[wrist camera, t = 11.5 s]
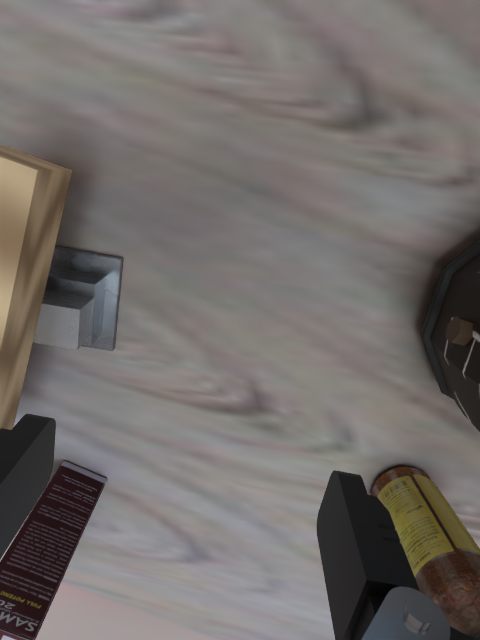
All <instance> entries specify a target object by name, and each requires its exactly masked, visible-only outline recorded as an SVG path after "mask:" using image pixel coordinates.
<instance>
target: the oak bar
mask: <svg viewBox="0 0 480 640" xmlns="http://www.w3.org/2000/svg"><path fill="white" fill-rule="evenodd" d="M71 174H72V170H70V169H67V168H64V167H62V166H59V165H56V164H53V163H51V162H48V161H45V160H42V159H40V158H37V157H34V156H32V155H29V154H26V153H23V152H21V151H18V150H15V149H12V148H10V147H4V146H0V429H1V428H3V429H9V430H12V429H13V426H14V422H15V418H16V413H17V409H18V405H19V400H20V396H21V391H22V387H23V383H24V378H25V374H26V370H27V365H28V361H29V357H30V352H31V348H32V344H33V339H34V335H35V331H36V326H37V322H38V318H39V313H40V309H41V305H42V300H43V296H44V291H45V287H46V283H47V278H48V274H49V270H50V265H51V261H52V257H53V252H54V248H55V244H56V239H57V235H58V231H59V226H60V222H61V218H62V213H63V209H64V205H65V200H66V196H67V191H68V187H69V183H70V178H71Z"/></svg>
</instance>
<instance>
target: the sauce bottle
mask: <svg viewBox="0 0 480 640" xmlns="http://www.w3.org/2000/svg"><path fill="white" fill-rule="evenodd" d="M372 496H376V497H377V498H378V499H379V500H380V501H381V502H382V504H383V505H384V506H385V507H386V508H387V510H388V511H389V512H390V515H391V518H392V520H393V523H394V525H395V530H397V533H398V536H399V538H400V543H401V544H402V546H403V548H404V551H405V554H406V556H407V559H408V561H409V564H410V566H411V569H412V572H413V574H414V577H415V579H416V582H417V584H418V587H419V590H420V592H422V593H423V594H425V595H426V596H428V597H429V598H430V599H432V600H433V601H434V602H435V603H436V604H437V605H438V606H439V608H440V609H441V610H442V612H443V613H444V615H445V616H446V618H447V620H448V623H449V626H451V627H452V628H454V629H456V630H458V631H460V632H462V633H464V634H466V635H468V636H471V637H473V638H475V639H477V640H480V549H479V547H478V546H477V544H476V543H475V541H474V540H473V538H472V537H471V535H470V534H469V532H468V531H467V529H466V528H465V527H464V525H463V524H462V522H461V521H460V519H459V518H458V516H457V515H456V513H455V512H454V511H453V509H452V508H451V506H450V505H449V503H448V502H447V500H446V499H445V497H444V496H443V495H442V493H441V492H440V490H439V489H438V487H437V486H436V485H435V484H434V482H432V481H431V480H430V478H429V477H428V475H427V474H426V473H424V472H423V471H420V470H418V469H415V468H411V467H406V466H405V467H403V466H401V467H397V468H393V469H391V470H389V471H387V472H385V473H383V474H382V475H381V476H380V477H379V478H378V479H377V480H376V481H375V484H374V486H373V488H372Z"/></svg>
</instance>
